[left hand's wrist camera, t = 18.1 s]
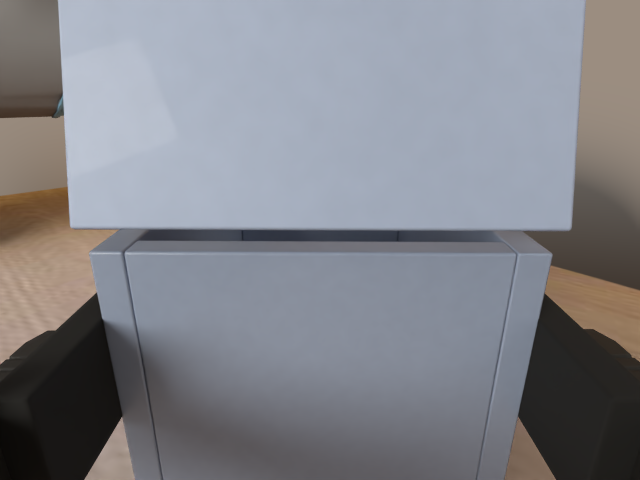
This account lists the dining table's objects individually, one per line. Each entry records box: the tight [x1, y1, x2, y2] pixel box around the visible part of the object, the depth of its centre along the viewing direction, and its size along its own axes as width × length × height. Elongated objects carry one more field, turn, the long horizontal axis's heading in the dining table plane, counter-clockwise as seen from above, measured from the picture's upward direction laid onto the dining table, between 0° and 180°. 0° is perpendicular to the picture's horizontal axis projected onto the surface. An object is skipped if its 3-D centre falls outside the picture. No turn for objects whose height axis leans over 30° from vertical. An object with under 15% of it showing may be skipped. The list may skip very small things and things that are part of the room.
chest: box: [89, 229, 552, 480], centre depth 17 cm, size 13×10×10 cm
